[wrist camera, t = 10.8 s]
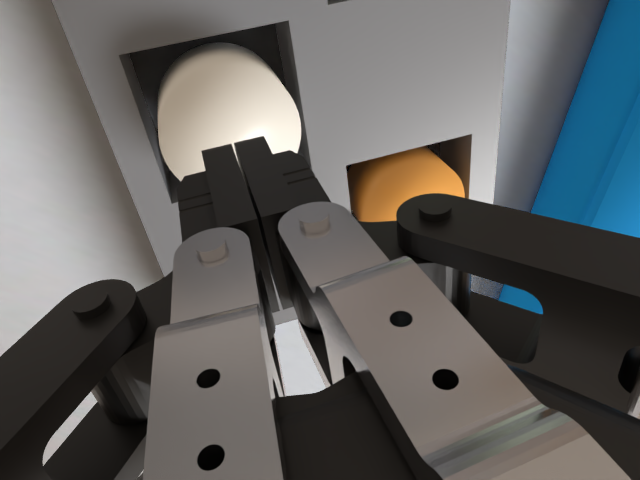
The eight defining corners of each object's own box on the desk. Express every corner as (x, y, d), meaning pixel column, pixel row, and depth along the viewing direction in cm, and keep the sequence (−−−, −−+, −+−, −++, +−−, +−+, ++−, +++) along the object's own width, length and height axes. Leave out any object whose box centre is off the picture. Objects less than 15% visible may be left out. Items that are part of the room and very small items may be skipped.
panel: (482, -309, 14) (539, -344, 12) (460, 232, 24) (487, 263, 22) (-27, -251, 12) (-63, -281, 10) (189, 308, 22) (193, 349, 20)
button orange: (435, 125, 20) (466, 150, 18) (434, 209, 22) (462, 240, 20) (339, 148, 20) (361, 177, 18) (349, 232, 22) (369, 266, 20)
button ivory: (271, 30, 15) (288, 50, 13) (292, 149, 18) (310, 180, 16) (138, 57, 15) (137, 82, 13) (178, 176, 17) (182, 213, 15)
